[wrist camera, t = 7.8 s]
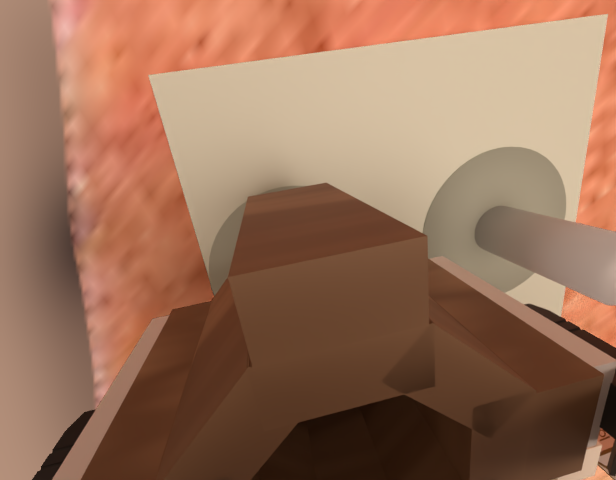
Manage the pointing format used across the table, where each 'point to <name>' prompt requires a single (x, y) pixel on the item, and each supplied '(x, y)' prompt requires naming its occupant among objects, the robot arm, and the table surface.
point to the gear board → (412, 147)
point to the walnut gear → (347, 366)
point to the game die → (605, 450)
